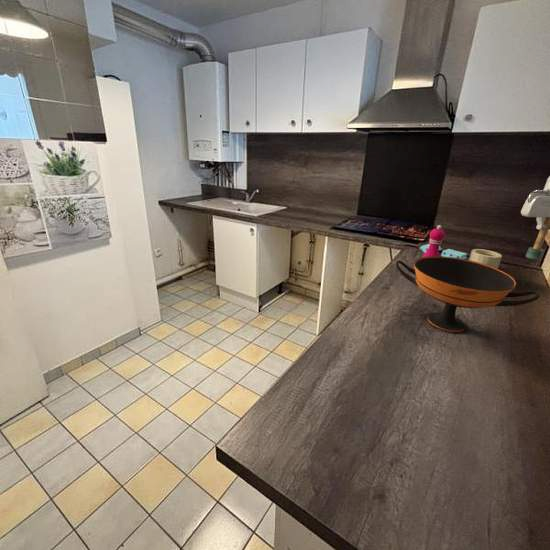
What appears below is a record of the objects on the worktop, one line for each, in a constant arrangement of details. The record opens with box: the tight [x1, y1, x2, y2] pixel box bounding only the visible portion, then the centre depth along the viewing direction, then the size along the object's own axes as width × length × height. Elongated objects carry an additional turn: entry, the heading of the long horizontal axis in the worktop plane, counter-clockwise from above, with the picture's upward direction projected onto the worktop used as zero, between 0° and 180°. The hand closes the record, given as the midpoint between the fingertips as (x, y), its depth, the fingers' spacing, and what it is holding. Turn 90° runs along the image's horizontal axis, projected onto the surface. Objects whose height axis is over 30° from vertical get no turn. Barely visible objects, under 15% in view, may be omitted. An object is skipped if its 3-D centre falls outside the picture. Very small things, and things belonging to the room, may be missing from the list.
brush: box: [525, 217, 550, 261], centre depth 108 cm, size 5×5×16 cm
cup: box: [395, 255, 541, 333], centre depth 87 cm, size 36×26×18 cm
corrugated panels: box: [419, 243, 468, 259], centre depth 147 cm, size 34×3×10 cm
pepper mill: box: [422, 224, 446, 257], centre depth 131 cm, size 7×7×20 cm
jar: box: [468, 248, 503, 269], centre depth 125 cm, size 11×11×11 cm
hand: (544, 229), depth 107 cm, fingers closed on brush, 2 cm apart
